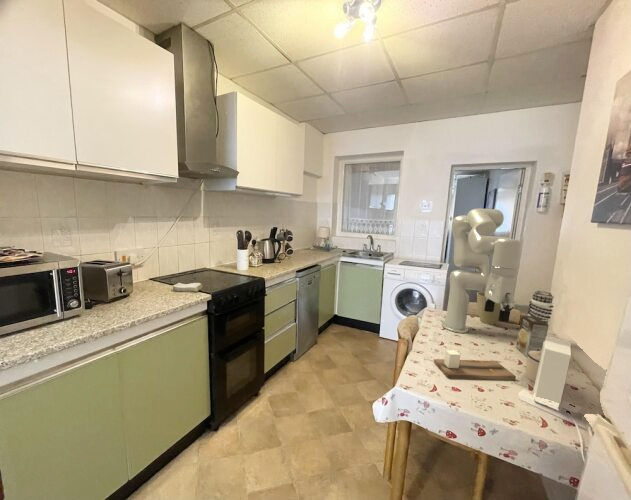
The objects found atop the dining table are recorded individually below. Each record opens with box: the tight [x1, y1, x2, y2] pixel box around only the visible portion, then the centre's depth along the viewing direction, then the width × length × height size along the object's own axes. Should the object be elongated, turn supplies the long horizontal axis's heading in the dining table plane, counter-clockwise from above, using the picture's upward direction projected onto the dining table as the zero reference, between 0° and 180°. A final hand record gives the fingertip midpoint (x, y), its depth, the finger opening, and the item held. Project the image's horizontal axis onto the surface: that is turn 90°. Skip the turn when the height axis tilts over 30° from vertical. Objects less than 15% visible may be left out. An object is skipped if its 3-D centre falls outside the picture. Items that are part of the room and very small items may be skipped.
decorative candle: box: [527, 290, 555, 325], centre depth 131 cm, size 9×9×25 cm
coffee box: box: [515, 315, 549, 358], centre depth 117 cm, size 9×6×16 cm
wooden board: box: [433, 358, 517, 381], centre depth 101 cm, size 10×26×2 cm, turn 93°
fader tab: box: [444, 349, 461, 368], centre depth 100 cm, size 3×4×6 cm
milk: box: [532, 335, 572, 405], centre depth 84 cm, size 6×6×22 cm
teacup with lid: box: [524, 350, 542, 383], centre depth 99 cm, size 12×9×12 cm
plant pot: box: [476, 291, 506, 326], centre depth 151 cm, size 15×15×16 cm
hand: (495, 316), depth 99 cm, fingers open, 9 cm apart
